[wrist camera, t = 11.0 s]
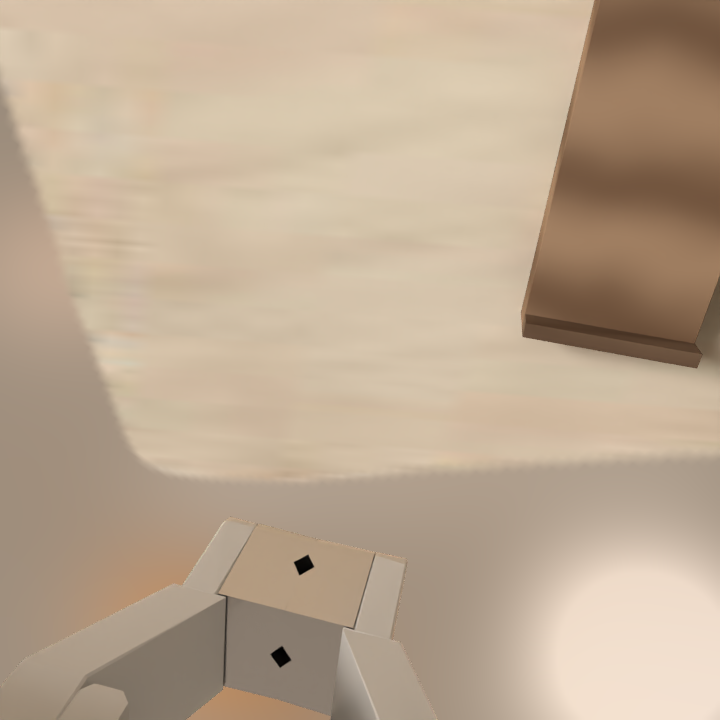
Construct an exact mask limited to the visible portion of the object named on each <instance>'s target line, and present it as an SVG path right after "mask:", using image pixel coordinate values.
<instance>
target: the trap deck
mask: <svg viewBox="0 0 720 720" xmlns="http://www.w3.org/2000/svg"><path fill="white" fill-rule="evenodd" d="M719 276H720V0H595V1H594V5H593V10H592V14H591V18H590V22H589V27H588V31H587V35H586V39H585V44H584V48H583V52H582V56H581V61H580V65H579V69H578V73H577V78H576V82H575V86H574V90H573V94H572V99H571V103H570V107H569V111H568V116H567V120H566V124H565V128H564V133H563V137H562V141H561V145H560V150H559V154H558V158H557V162H556V167H555V171H554V175H553V179H552V184H551V188H550V192H549V196H548V200H547V205H546V209H545V213H544V217H543V222H542V226H541V230H540V234H539V239H538V243H537V247H536V251H535V256H534V260H533V264H532V268H531V273H530V277H529V281H528V285H527V290H526V294H525V298H524V302H523V307H522V311H521V319H522V335H523V337H526V338H531V339H537V340H543V341H548V342H554V343H559V344H565V345H570V346H576V347H581V348H587V349H592V350H598V351H603V352H609V353H615V354H620V355H626V356H631V357H637V358H642V359H648V360H653V361H659V362H664V363H670V364H676V365H681V366H687V367H692V368H697V367H698V365H699V362H700V359H701V357H702V353H701V352H700V351H699V349H698V348H697V346H696V345H695V341H696V338H697V336H698V333H699V330H700V328H701V325H702V322H703V320H704V317H705V314H706V311H707V309H708V306H709V303H710V301H711V298H712V295H713V293H714V290H715V287H716V284H717V282H718V279H719Z"/></svg>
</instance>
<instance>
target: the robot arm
mask: <svg viewBox="0 0 720 720" xmlns="http://www.w3.org/2000/svg"><path fill="white" fill-rule="evenodd" d="M406 568H407V559H406V558H402V557H397V556H393V555H388V554H384V553H379V552H377V553H376V552H372V551H368V550H364V549H359V548H355V547H351V546H346V545H342V544H338V543H333V542H329V541H324V540H320V539H316V538H312V537H308V536H304V535H300V534H297V533H293V532H289V531H285V530H281V529H278V528H274V527H270V526H267V525H263V524H256V523H253V522H248V521H245V520H241V519H238V518H234V517H230V518H228V519H227V520H225V521H224V522H223V523H222V525H221V527H220V528H219V530H218V531H217V533H216V534H215V536H214V537H213V539H212V540H211V542H210V543H209V545H208V547H207V548H206V550H205V551H204V553H203V554H202V556H201V557H200V559H199V560H198V562H197V564H196V565H195V567H194V568H193V570H192V571H191V573H190V574H189V576H188V577H187V579H186V580H185V582H184V584H183V585H182V586H181V585H177V584H171V585H170V586H168V587H166V588H164V589H162V590H160V591H158V592H156V593H154V594H152V595H150V596H148V597H146V598H144V599H142V600H140V601H138V602H136V603H134V604H132V605H130V606H128V607H126V608H124V609H122V610H120V611H118V612H116V613H114V614H112V615H110V616H108V617H106V618H104V619H102V620H100V621H98V622H96V623H94V624H92V625H90V626H88V627H86V628H84V629H82V630H80V631H78V632H76V633H74V634H72V635H70V636H68V637H66V638H64V639H62V640H60V641H58V642H56V643H54V644H53V645H50V646H48V647H46V648H44V649H43V650H41V651H38V652H36V653H34V654H32V655H30V656H29V657H27V658H25V659H23V660H22V661H21V662H20V664H19V665H18V666H17V667H16V668H15V670H14V671H13V672H12V673H11V674H10V676H9V677H8V678H7V679H6V680H5V681H4V683H3V684H2V685H1V686H0V720H186V719H187V718H189V717H190V716H191V715H192V714H193V713H195V712H196V711H197V710H198V709H200V708H201V707H202V706H203V705H205V704H206V703H207V702H208V701H209V700H211V699H212V698H213V697H215V696H216V695H217V694H218V693H220V692H221V691H222V690H223V686H225V687H229V688H234V689H238V690H242V691H246V692H250V693H254V694H258V695H262V696H266V697H270V698H274V699H278V700H281V701H284V702H287V703H291V704H294V705H297V706H300V707H303V708H307V709H310V710H313V711H317V712H320V713H323V714H326V715H329V716H331V720H438V718H437V716H436V714H435V712H434V710H433V708H432V706H431V704H430V702H429V700H428V698H427V695H426V693H425V691H424V689H423V687H422V685H421V683H420V681H419V679H418V677H417V675H416V672H415V670H414V668H413V666H412V664H411V662H410V660H409V658H408V656H407V654H406V652H405V649H404V648H403V645H402V643H401V642H398V641H394V640H393V637H394V631H395V625H396V621H397V616H398V610H399V605H400V600H401V594H402V589H403V584H404V579H405V573H406Z"/></svg>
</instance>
